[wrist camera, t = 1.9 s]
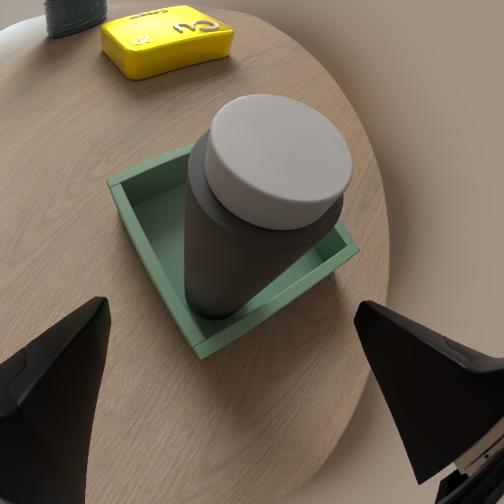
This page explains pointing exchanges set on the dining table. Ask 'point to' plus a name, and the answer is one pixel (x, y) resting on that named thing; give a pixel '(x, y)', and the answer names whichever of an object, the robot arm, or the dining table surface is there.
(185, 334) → the box
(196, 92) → the dining table surface
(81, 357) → the robot arm
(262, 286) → the salt mill
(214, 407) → the dining table surface
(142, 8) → the dining table surface
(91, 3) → the canister
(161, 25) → the element tile
